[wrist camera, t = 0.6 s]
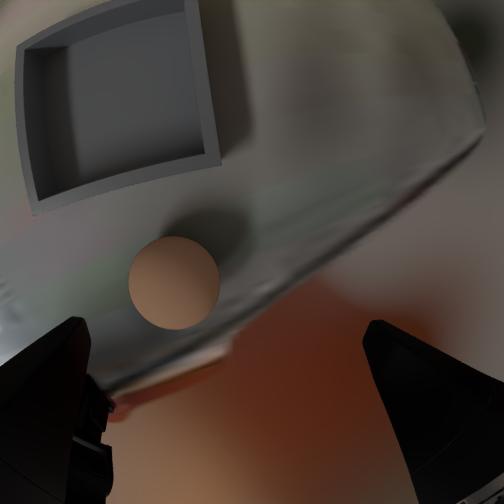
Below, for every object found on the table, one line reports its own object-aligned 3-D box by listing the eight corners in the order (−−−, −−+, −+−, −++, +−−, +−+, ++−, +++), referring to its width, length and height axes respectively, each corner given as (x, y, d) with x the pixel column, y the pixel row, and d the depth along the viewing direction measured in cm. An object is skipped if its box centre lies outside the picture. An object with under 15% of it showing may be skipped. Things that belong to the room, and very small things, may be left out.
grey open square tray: (55, 204, 16) (33, 216, 13) (38, 56, 11) (16, 46, 8) (217, 161, 18) (221, 165, 14) (194, 4, 13) (195, -19, 10)
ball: (150, 304, 21) (140, 355, 15) (128, 234, 18) (103, 270, 13) (223, 290, 21) (233, 338, 16) (207, 217, 19) (213, 247, 14)
